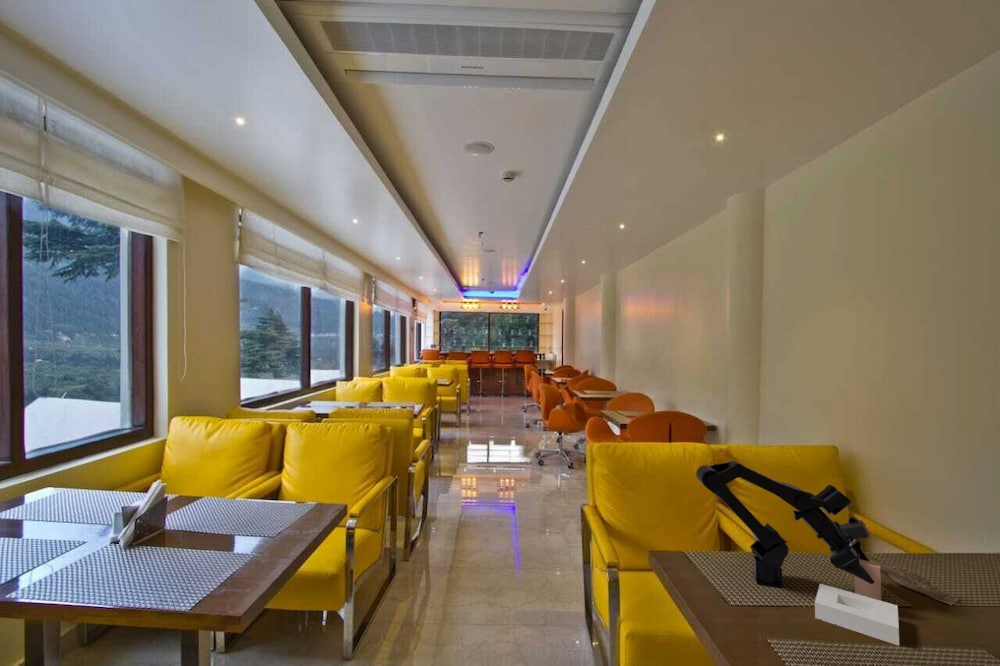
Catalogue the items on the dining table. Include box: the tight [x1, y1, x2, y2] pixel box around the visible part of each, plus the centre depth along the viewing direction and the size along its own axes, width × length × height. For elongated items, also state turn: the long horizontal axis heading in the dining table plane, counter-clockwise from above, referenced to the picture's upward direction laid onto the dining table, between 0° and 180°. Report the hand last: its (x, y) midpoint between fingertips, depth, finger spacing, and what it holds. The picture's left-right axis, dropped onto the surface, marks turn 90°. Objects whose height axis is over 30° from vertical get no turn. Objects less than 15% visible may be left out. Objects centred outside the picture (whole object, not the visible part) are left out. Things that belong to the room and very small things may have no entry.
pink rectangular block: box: [853, 559, 882, 601], centre depth 121 cm, size 6×3×10 cm, turn 49°
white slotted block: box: [814, 583, 900, 646], centre depth 112 cm, size 16×12×4 cm
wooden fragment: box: [869, 559, 960, 607], centre depth 130 cm, size 26×11×1 cm, turn 178°
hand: (873, 576), depth 120 cm, fingers open, 9 cm apart
